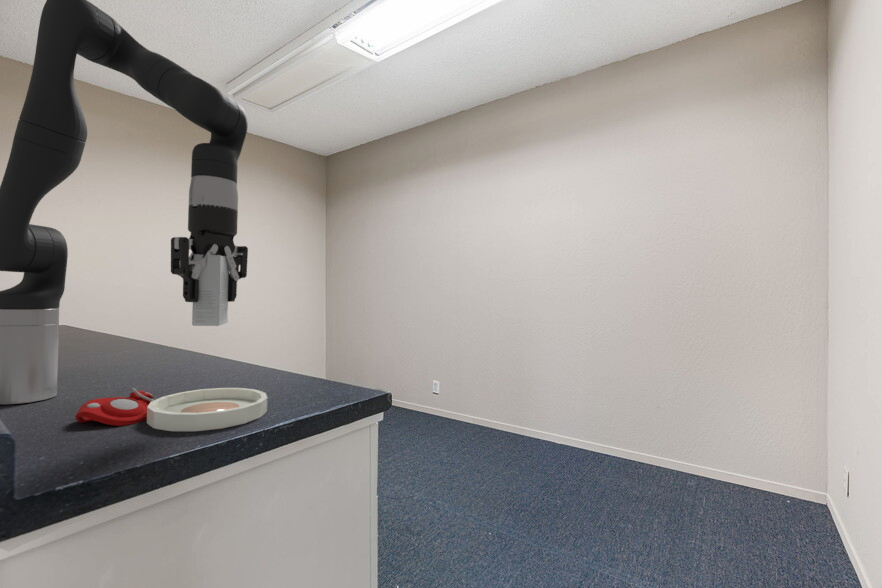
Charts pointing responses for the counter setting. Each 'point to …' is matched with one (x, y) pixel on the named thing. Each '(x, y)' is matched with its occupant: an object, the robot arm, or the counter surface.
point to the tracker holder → (116, 409)
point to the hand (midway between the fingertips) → (210, 301)
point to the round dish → (206, 409)
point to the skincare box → (212, 293)
